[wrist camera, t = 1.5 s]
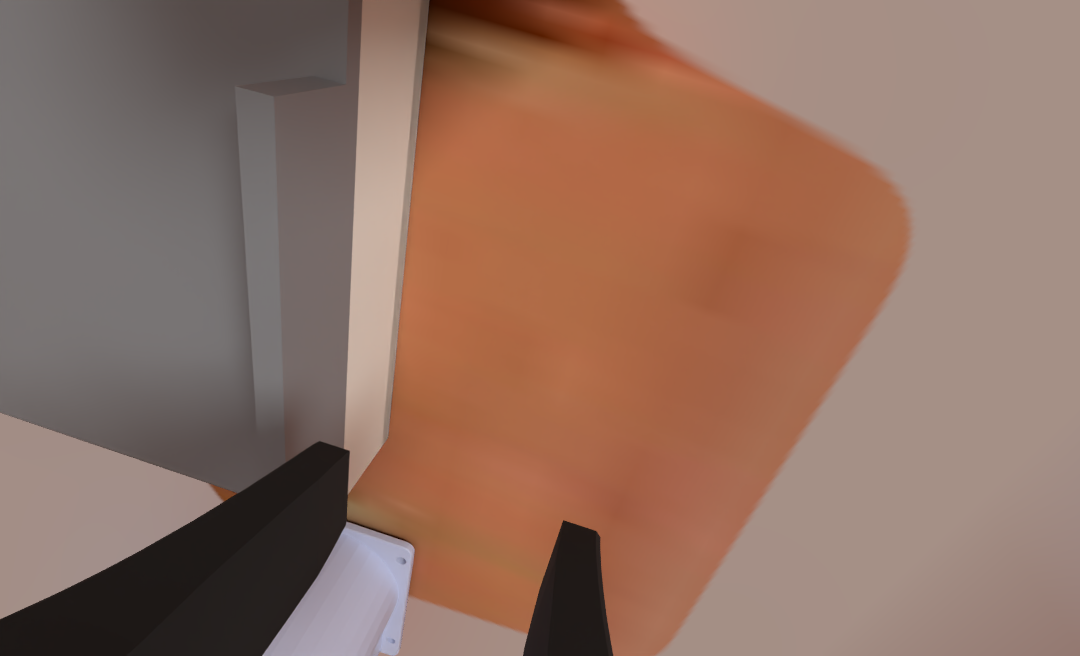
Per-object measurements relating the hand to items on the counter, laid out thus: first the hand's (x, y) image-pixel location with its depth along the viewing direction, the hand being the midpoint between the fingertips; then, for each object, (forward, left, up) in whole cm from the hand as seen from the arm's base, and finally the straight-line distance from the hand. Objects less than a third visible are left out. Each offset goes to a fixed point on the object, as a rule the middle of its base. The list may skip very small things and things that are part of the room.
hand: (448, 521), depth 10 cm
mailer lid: (0, +13, -6) cm, 14 cm away
